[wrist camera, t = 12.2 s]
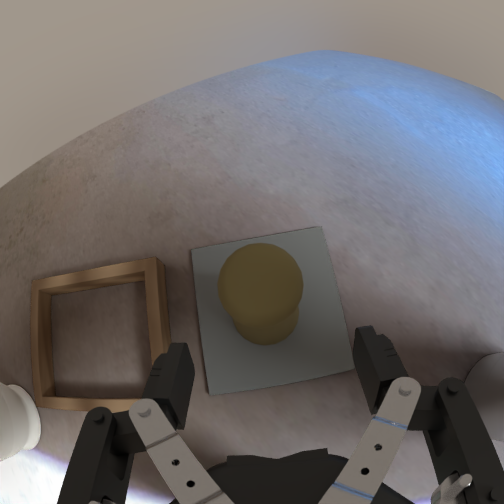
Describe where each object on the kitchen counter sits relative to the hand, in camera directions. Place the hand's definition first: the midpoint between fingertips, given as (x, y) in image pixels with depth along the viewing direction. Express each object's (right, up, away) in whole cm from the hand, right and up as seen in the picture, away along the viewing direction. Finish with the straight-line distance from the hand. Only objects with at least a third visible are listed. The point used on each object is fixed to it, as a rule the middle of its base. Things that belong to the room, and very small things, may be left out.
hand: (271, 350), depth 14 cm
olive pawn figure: (0, -1, +14) cm, 14 cm away
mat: (+1, -1, +14) cm, 14 cm away
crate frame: (-16, -5, +14) cm, 22 cm away
